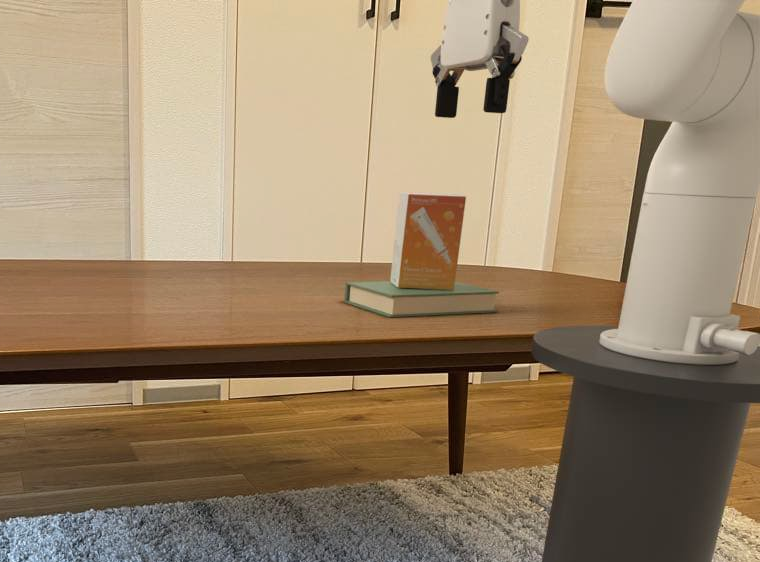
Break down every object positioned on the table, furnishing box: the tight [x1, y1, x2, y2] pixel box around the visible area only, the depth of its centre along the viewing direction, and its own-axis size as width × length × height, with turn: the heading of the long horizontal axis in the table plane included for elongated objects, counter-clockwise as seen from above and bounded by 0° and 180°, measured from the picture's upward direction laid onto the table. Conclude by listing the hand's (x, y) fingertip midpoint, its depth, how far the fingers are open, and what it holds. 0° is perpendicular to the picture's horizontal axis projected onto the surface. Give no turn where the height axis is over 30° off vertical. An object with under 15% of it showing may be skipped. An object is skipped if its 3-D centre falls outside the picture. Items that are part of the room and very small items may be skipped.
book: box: [343, 280, 500, 318], centre depth 113 cm, size 12×18×3 cm, turn 112°
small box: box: [389, 191, 467, 291], centre depth 110 cm, size 8×6×13 cm
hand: (468, 115), depth 103 cm, fingers open, 9 cm apart
